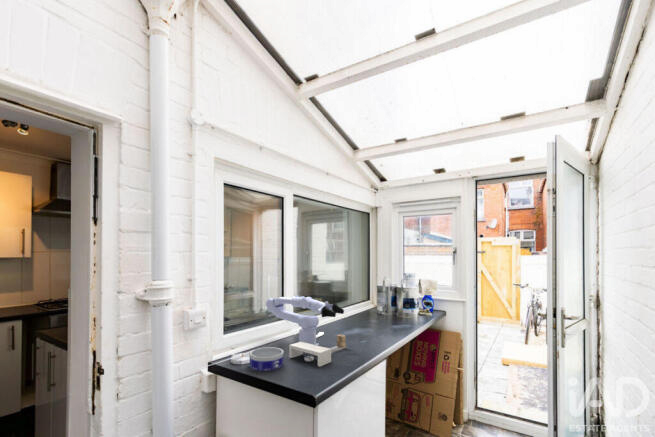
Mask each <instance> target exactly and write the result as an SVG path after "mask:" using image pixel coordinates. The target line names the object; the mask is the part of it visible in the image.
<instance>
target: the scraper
mask: <svg viewBox="0 0 655 437" xmlns="http://www.w3.org/2000/svg"><path fill="white" fill-rule="evenodd" d="M346 341H347V340H346V335H344V334H336V346H332V347H329V348H330V349H331V355H333V354H335V353H337V352H340V351H343V350H345V349H346V345H347V343H346ZM313 357H316V358H318V356H317V355H313Z"/></svg>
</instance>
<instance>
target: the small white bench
mask: <svg viewBox="0 0 655 437" xmlns="http://www.w3.org/2000/svg"><path fill="white" fill-rule="evenodd" d="M288 347H289V348H288V349H289V350H288V351H289V352H288V353H289V354H288V358H290V359H292V358H296V357H299V356H301V355H303V353H306V354H310V355H312V356H314V355H317V356H318V357H317V367H323V366H324V365H328V364H330V363H331V362H332V354H331V349H330V348H331V347H324V346H320V345H313V344H309V343H305V342H299V341H298V342H295V343H291V344H289V346H288Z"/></svg>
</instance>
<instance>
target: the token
mask: <svg viewBox="0 0 655 437" xmlns="http://www.w3.org/2000/svg"><path fill="white" fill-rule="evenodd" d="M314 358H315V356H314V355H306V356H304V362H309V363H310V362H313V361H315V360H314Z"/></svg>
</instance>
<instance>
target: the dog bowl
mask: <svg viewBox="0 0 655 437" xmlns="http://www.w3.org/2000/svg"><path fill="white" fill-rule="evenodd" d="M283 365H284V349H282V348H279V347H274V346H273V347H272V346H269V347H265V346H264V347H258V348H256V349H252V350H251V351H250V352H249V368H250V369H252V370H254V371H258V372H269V371H274V370H278V369H280V368H282V366H283Z"/></svg>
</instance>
